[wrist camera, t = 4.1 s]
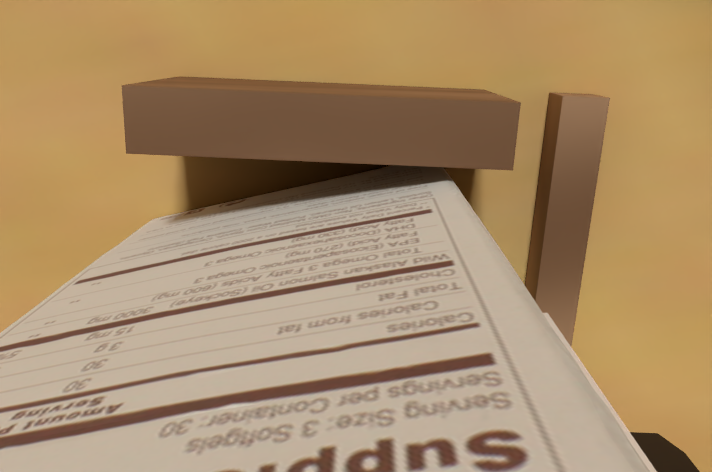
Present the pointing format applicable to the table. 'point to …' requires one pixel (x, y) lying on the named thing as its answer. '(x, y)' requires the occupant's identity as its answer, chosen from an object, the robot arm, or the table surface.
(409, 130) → the notch rail
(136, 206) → the table surface
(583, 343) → the table surface
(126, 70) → the table surface
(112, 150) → the table surface
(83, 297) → the supplement box
